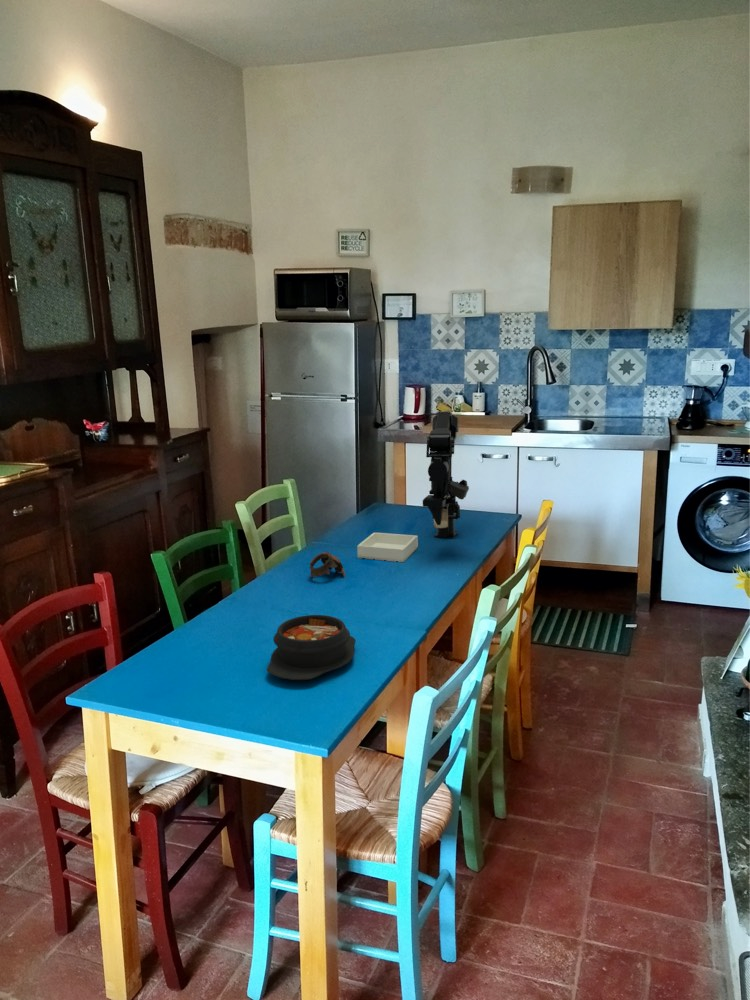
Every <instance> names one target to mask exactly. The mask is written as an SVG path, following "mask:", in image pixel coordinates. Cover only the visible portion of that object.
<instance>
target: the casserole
mask: <svg viewBox="0 0 750 1000" xmlns="http://www.w3.org/2000/svg"><path fill="white" fill-rule="evenodd" d="M272 638H273V641H272V642H273V643H274V645H275V646H276V648H275V649H274V650H273V652H272V653H271V655H270V661H269V664H268V666H267V667H266V672H267V673H268V674H269V675H272V676H274V677H276V678H279V679H284V680H289V681H290V680H291V681H310V680H312V679H315V678H318V677H320V676H321V675H323V674H326V673H328V672H332V671H334V670H336V669H339V668H341V667H343V666H345V665H347V664H348V663H350V662H351V661H352V659H353V658H354V656H355V645H356V639H355V637H353V636H351V632H350V630H349V629H348V628H347V627H346V624H345V623H344V621H343V620H341V619H339V618H337V617H335V616H332V615H331V616H330V615H324V614H309V615H308V614H307V615H306V614H305V615H301V616H297V617H292V618H290V619H287V620H285V621H283V622H282V623H281V624H280V625H278V627H277V630H276V633H275V634H274V636H273V637H272Z"/></svg>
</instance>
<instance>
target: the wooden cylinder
mask: <svg viewBox="0 0 750 1000" xmlns="http://www.w3.org/2000/svg"><path fill="white" fill-rule="evenodd" d="M433 527H434V528H436V529H437V528H446V527H448V510H447V509H443V512H442V519H441V524H440V525H437V524H436V522H435V520H434V519H433Z"/></svg>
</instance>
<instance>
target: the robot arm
mask: <svg viewBox="0 0 750 1000" xmlns="http://www.w3.org/2000/svg"><path fill="white" fill-rule="evenodd" d="M435 414H436V415H435V416H433V417H432V425H431V426H432V428H431V429H432V430H430V431H429V434H428V435H429V436H427V437H426V451H425V452H426V454H425V455H426V456H425V457H426V458H430V463H429V465H428V469H427V474H428V476H429V479H428V480H429V482H430V490H429V491H428V492H429V494H428V495H426V497H424V498H423V499H422V507H424V508H428V510H429V511H430V514H431V515H432V520H433V521H434V520H435V522H436V524H437V525H440V524H441V519H442V512H443V509H447V510H448V527H446V528H436V532H435V534H434V535H433V536H434V537H435V538H445V539H447V538H448V539H454V537H455V536H456V535H457V534H458V531H457V530H455V520H458V519H460V518H461V505H459V502H458V500H457V499H459V500H464V499H465V498H466V496H467V494H468V491H469V489H470V487H469V485H468V481H467V480H466V479H461V480H460V481H455V480H453V476H452V470H453V469H452V464H453V463H452V461H453V460H452V458H453V455H455V444H456V443H455V441H456V439H457V433H459V429H460V428H459V417H457V416H455V415H453V412H452V411H449V410H448V411H447V410H446V411H437V412H436V413H435Z"/></svg>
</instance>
